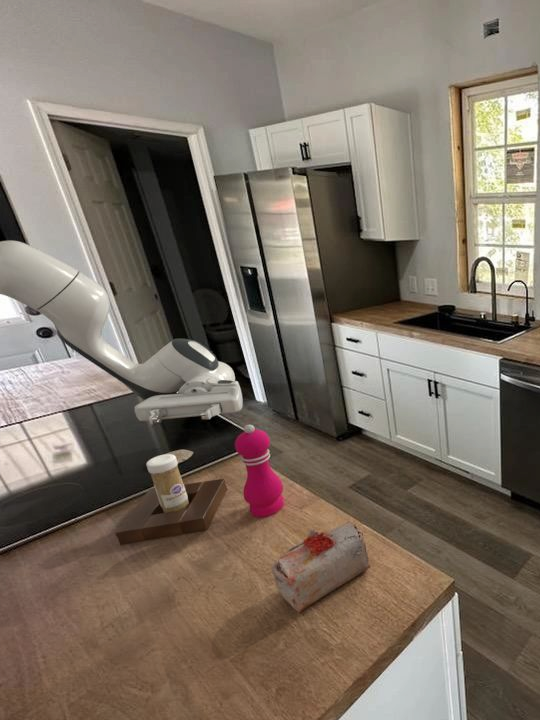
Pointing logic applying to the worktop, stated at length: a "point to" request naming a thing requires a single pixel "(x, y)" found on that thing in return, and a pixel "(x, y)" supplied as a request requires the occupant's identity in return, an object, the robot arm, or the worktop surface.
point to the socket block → (173, 514)
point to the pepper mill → (259, 473)
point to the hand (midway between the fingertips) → (179, 419)
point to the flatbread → (181, 455)
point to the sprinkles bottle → (168, 483)
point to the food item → (320, 565)
